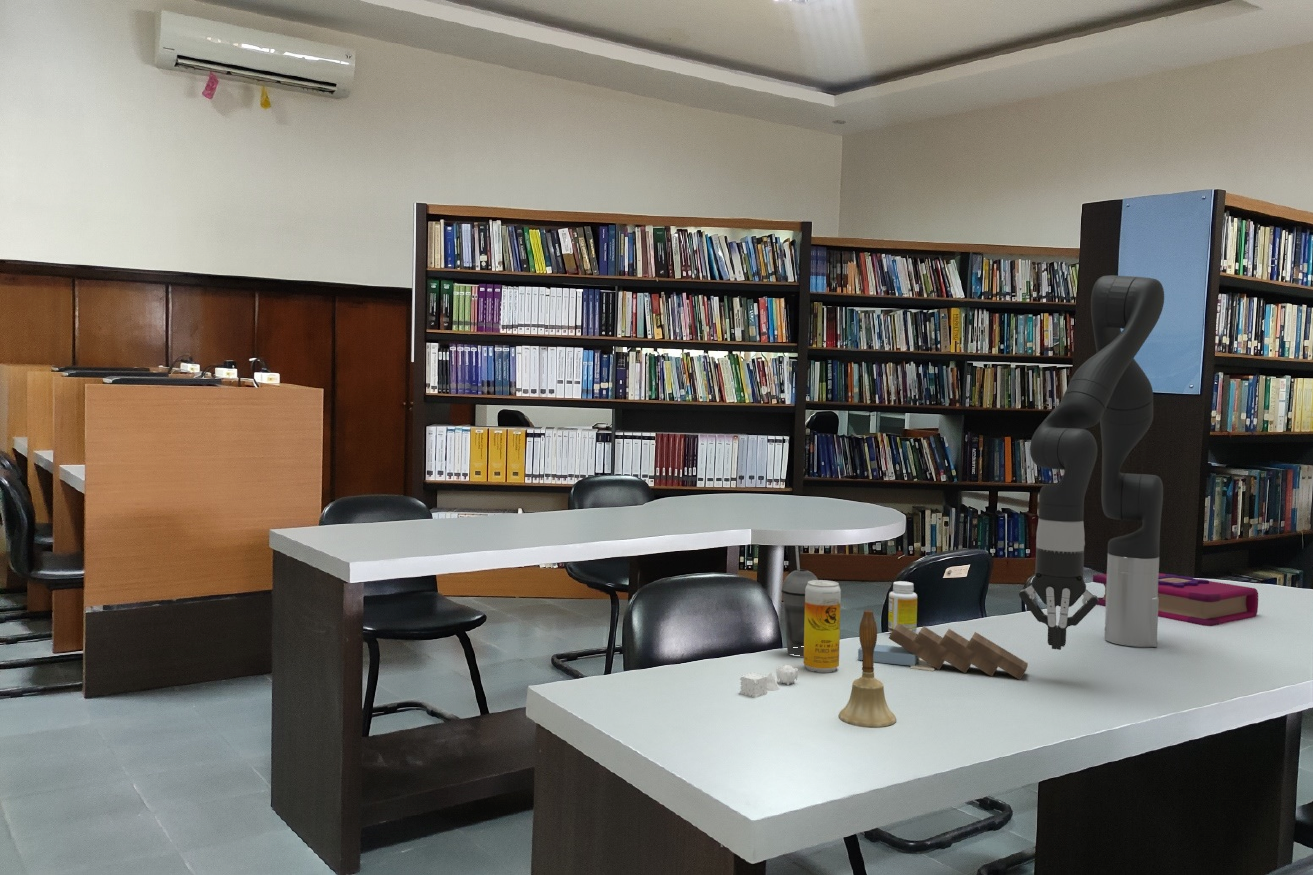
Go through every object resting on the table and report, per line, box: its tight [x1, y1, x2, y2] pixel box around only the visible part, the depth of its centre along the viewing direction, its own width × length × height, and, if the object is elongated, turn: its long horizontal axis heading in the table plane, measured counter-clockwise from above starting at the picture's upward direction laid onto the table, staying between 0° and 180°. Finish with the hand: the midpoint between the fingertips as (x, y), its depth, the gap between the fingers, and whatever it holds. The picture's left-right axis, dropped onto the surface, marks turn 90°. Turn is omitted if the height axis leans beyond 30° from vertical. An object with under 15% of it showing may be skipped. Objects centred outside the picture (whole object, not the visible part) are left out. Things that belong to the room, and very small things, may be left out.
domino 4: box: [940, 628, 999, 677], centre depth 176 cm, size 2×5×10 cm
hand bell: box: [838, 609, 897, 728], centre depth 148 cm, size 8×8×16 cm
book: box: [1092, 572, 1259, 627], centre depth 232 cm, size 21×28×8 cm
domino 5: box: [966, 631, 1029, 681], centre depth 174 cm, size 2×5×10 cm
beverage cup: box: [781, 544, 819, 656], centre depth 185 cm, size 7×7×20 cm
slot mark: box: [910, 658, 936, 672], centre depth 179 cm, size 4×7×1 cm, turn 157°
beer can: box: [803, 579, 842, 673], centre depth 175 cm, size 6×6×15 cm
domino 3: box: [914, 625, 972, 674], centre depth 178 cm, size 2×5×10 cm
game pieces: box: [739, 664, 799, 698], centre depth 163 cm, size 12×3×3 cm, turn 136°
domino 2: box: [888, 623, 946, 671], centre depth 180 cm, size 2×5×10 cm
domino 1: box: [857, 644, 920, 667], centre depth 182 cm, size 2×5×10 cm
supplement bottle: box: [887, 580, 918, 634], centre depth 203 cm, size 6×6×10 cm
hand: (1056, 648), depth 171 cm, fingers closed
